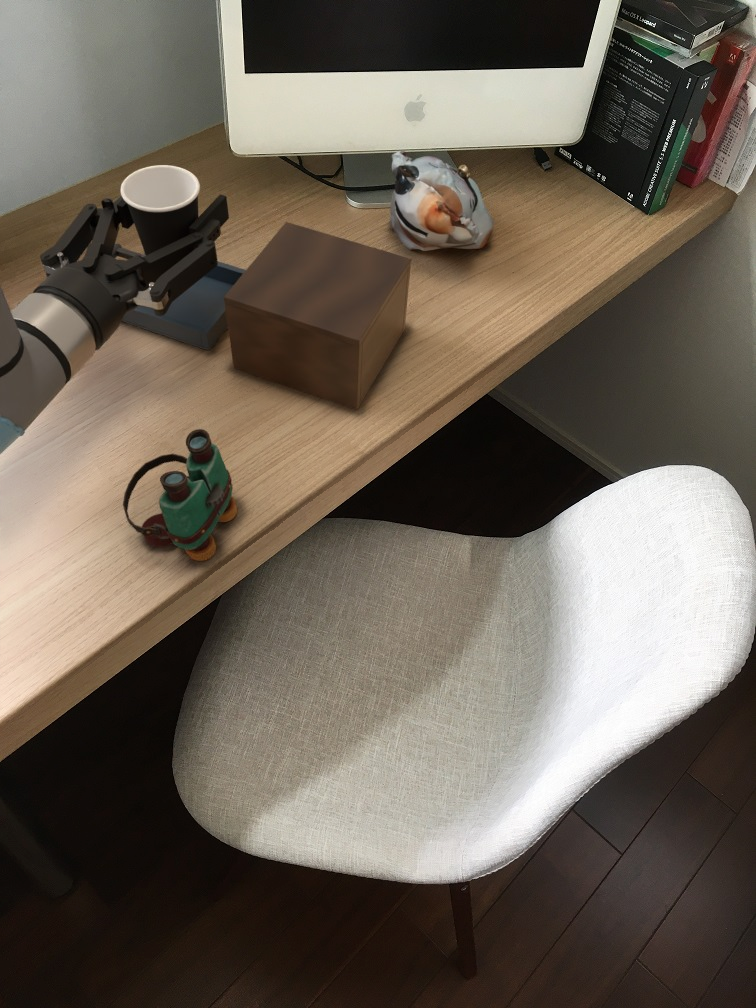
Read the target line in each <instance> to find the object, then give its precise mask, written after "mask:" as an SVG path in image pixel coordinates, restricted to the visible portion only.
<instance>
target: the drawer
mask: <svg viewBox="0 0 756 1008" xmlns="http://www.w3.org/2000/svg"><path fill="white" fill-rule="evenodd" d="M137 255H139V256H141V257H144V256H146V255H145V252H144V253H139V252H136V251H133V250H129V249H127V248H123V246H122V245H121V244H120V243H115V245H114V249H113V252H112V257H114V258H115V259H117V257H119V258H123V259H124V260H128V259H130V258H133V257H135V256H137ZM246 270H247V269H244V268H242V267H238V266H234V265H232V264H228V263H225V262H222V261H219V260H218V265H217V266H216V267H215V268H213V269H212V270H211V271H210V272H209V273H207V274H206V275H205V276H204V277H202V278H201V279H200V280H199V281H197V282H196V283H195V284H194V285H193V286H191V287H190V288H189V289H188V290H186V291H185V292H184V293H183V294H181V295H180V296H179V297H178V298H176V299H175V300H174V301H173V302H172V303H171V305H170V307H169V309H168V310H167V312H166V314H164V315H162V316H157V315H155V314H154V310H153V308H151V307H146V306H140V305H139V306H138V307H137V308H135V309H133V310H131V311H129V312H127V313H126V314H125V315H124V317H123V319H122V321H121V322H123V323H124V324H125V323H126V324H129V325H132V326H135V327H138V328H141V329H144V330H147V331H149V332H153V333H155V334H159V335H162V336H163V337H167V338H170V339H173V340H176V341H178V342H182V343H185V344H188V345H191V346H194V347H197V348H200V349H202V350H205V351H210V350H211V349H212V348H213V347H214V346H215V344H216V343H217V342H218V340H219V339H220V338H221V337H222V336H223V334H224V333H225V332H226V331H227V330H228V324H227V317H226V310H225V303H224V296H225V295H226V294H227V292H228V291H229V290H230V289H231V288H232V286H233V285H234V284H235V283H236V282H237V280H238V279H239V278H240V277H241V276H242V274H243V273H244V272H245V271H246ZM136 272H137V270H136ZM137 275H138V272H137ZM138 279H139V276H138Z"/></svg>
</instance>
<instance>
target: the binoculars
mask: <svg viewBox="0 0 756 1008" xmlns="http://www.w3.org/2000/svg"><path fill="white" fill-rule="evenodd" d="M185 446H186V448H187V450H188V452H189V455H188V456H187V457H186V456H183V455H180V454H176V453H168V454H162V455H159V456H157V457H155V458H153V459H150V460H149V461H147V462H145V463H144V464H142V466H141V467H140V468H138V469H137V470H136V471H135V472H134V474H133V475H132V477H131V479H130V480H129V482H128V484H127V487H126V489H125V492H124V495H123V501H122V507H123V511H124V514H125V518H126V520H127V522H128V524H129V525H130V526H131V527H132V528H133V529H134V530H135V531H136V533H139V534H141V535H142V536H143V538H144V541H145V543H146V544H147V545H149V546H150V547H154V548H155V547H157V548H158V547H160V548H161V547H168V546H170V545H174V546H176V547H178V548H180V549H183V550H184V551H185V554H186V555H187V556H188V557H189V558H190V559H192V560H194V561H198V562H203V561H207V560H209V559H211V558H212V557H213V556H214V554H215V553H216V550H217V545H216V542H215V539H214V536H213V535H212V533H213V531H214V529H215V528H216V526H217V524H218V522H219V523H226V522H230V521H231V520H233V519H234V518H235V517H236V516H237V513H238V508H237V504H236V501H235V498H234V497H233V496H232V494H233V489H234V487H233V483H232V477H231V474H230V471H229V470H228V469H227V467H226V464H225V462H224V459H223V457H222V454H221V452H220V449H219V447H218V446H217V444H215V443H213V442H212V440H211V436H210V433H209V432H208V431H207V430H205V429H203V428H197V429H194V430H192V431H191V432H189V433H188V435H187V436H186V438H185ZM173 462H177V463H181V464H185V466H186V467H185V468H186V471H187V474H186V473H185V472H182V471H180V470H170V471H167V472H165V473H163V474H162V475H160V476H159V482H160V484H161V487H162V488H163V490H164V492H163V493H162V494H161V496H160V498H159V500H158V503H159V507H160V511H161V513H157V514H154V515H151V516H150V517H148V518H147V519H146V520H145V521H144V522H143V523H142V525H137V524H135V523H134V522H133V520H131V519H130V516H129V512H128V509H129V503H130V499H131V496H132V493H133V491H134V489H135V488H136V486H137V484H138V483H139V481H140V480H141V479H142V478H143V477H144V476H145V475H146V474H147V473H148V472H149V471H151V470H153V469H155V468H157V467H159V466H161V465H164V464H167V463H173Z"/></svg>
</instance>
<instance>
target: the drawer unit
mask: <svg viewBox="0 0 756 1008" xmlns="http://www.w3.org/2000/svg"><path fill="white" fill-rule="evenodd" d="M411 267H412V258H410V257H407V256H404V255H400V254H397V253H393V252H390V251H387V250H383V249H379V248H377V247H374V246H370V245H366V244H363V243H360V242H356V241H353V240H350V239H346V238H344V237H339V236H336V235H332V234H329V233H326V232H322V231H319V230H315V229H312V228H309V227H305V226H303V225H298V224H295V223H292V222H288V221H286V222H285V223H283V225H282V226H281V227H280V228H279V230H277V232H276V233H275V234H274V236H273V237H272V238H271V240H269V242H268V243H267V244H266V246H264V248H263V249H262V250H261V251H260V252H259V253H258V255H257V256H256V257H255V259H253V261H252V262H251V264H250V265H249V266H248V267H247V268H246V269H245V270H246V271H245V272H244V273H243V274H242V276H241V277H240V278H239V279H238V280H237V282H236V283H235V284H234V285H233V286H232V288H231V289H230V290H229V291H228V292H227V294H226V295H225V296H224V303H225V310H226V317H227V324H228V328H227V330H228V338H229V344H230V352H231V358H232V366H233V369H235V370H239V371H241V372H244V373H247V374H250V375H253V376H256V377H259V378H262V379H265V380H268V381H270V382H274V383H276V384H280V385H283V386H285V387H288V388H291V389H294V390H297V391H300V392H303V393H305V394H309V395H312V396H314V397H318V398H321V399H324V400H327V401H330V402H332V403H335V404H339V405H341V406H344V407H348V408H350V409H353V410H356V411H358V410H359V407H360V406H361V404H362V402H363V401H364V399H365V397H366V395H367V394H368V392H369V391H370V388H371V387H372V386H373V384H374V381H375V380H376V378H377V377H378V375H379V373H380V372H381V370H382V368H383V366H384V365H385V363H386V362H387V360H388V358H389V357H390V355H391V354H392V352H393V350H394V348H395V347H396V344H397V343H398V341H399V340H400V338H401V336H402V334H403V333H404V331H405V329H406V321H407V309H408V297H409V289H410V288H409V287H410V277H411Z"/></svg>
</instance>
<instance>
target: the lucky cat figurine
mask: <svg viewBox="0 0 756 1008" xmlns="http://www.w3.org/2000/svg"><path fill="white" fill-rule="evenodd" d="M391 160H392V161H391V172H392V174H393V177H394V178H395V181H394V183H395V184H394V190H393V191H392V193H391V198H390V206H389V207H390V208H389V211H390V218H389V225H390V229H391V231H392V232H393V233H394V234H395V235H396V236H397V238H398V239H399V240H400V242H401V244H402V245H403V246H404V247H405V248H406V249H408V250H420V251H422V252H427V251H433V250H440V249H463V250H475V249H478V250H479V249H482V248H484V247H485V246H486V244H487V242H488V239H489V237H490V235H491V234H492V232H493V228H494V223H495V219H494V218H493V217H492V216H491V214H490V212H489V210H488V208H487V207H486V204H485V202H484V199H483V196H482V195H483V194H482V192H481V190H480V188H479V186H478V184H477V182H475V180H473V179H472V178H471V175H472V173H471V169H470V168H469V166H467V165H466V164H461V165H459V166H458V168H457V167H453V166H452V165H450V164H449V163H446V162H443V160H441V159H440V158H438V157H436V156H432V155H424V156H421V157H417V158H415V159H413V158H411V157H409V156H408V154H407V153H406V151H405V150H398V151H396V152H395V153H392V154H391Z"/></svg>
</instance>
